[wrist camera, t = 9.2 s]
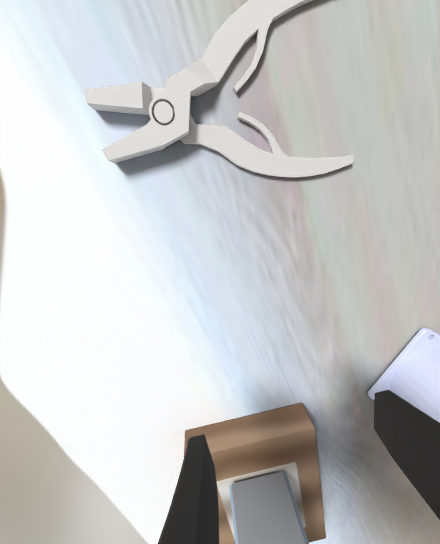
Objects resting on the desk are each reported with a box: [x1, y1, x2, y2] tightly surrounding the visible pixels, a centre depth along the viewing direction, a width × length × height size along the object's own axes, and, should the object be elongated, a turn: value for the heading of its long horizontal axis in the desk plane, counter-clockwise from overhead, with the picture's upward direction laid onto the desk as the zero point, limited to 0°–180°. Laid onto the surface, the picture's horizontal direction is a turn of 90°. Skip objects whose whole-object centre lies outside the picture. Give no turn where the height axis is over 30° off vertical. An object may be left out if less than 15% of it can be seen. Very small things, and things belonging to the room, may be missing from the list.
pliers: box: [85, 0, 353, 178], centre depth 14 cm, size 10×2×15 cm
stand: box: [184, 403, 326, 544], centre depth 23 cm, size 16×11×3 cm
